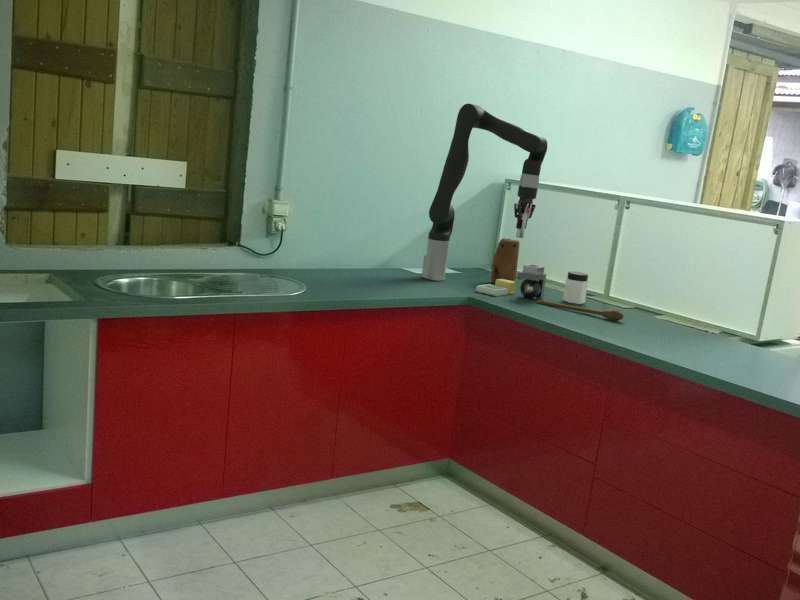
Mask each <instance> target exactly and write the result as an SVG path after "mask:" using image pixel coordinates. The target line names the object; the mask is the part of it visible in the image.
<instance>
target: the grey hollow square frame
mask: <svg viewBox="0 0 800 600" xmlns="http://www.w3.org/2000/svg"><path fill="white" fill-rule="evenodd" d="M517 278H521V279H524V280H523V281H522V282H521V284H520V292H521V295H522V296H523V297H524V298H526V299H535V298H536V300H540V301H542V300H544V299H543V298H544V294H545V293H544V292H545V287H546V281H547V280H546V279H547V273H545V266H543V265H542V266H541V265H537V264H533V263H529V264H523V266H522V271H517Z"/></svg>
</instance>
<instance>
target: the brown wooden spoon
mask: <svg viewBox="0 0 800 600" xmlns="http://www.w3.org/2000/svg"><path fill="white" fill-rule="evenodd" d="M536 300H537V301H536V304H539V305H544V306H548V307H553V308H559V309H563V310H570V311H576V312H581V313H587V314H593V315H599V316H602V317H604V318H606V319H607V320H610V321H611V322H619V321H621V320H623V319H624V314H623V313H622V312H621V311H619V310H618V309H616V308H615V309H614V308H613V309H608V310H607V309H606V310H597V309H593V308H592V309H591V308H586V307H580V306H574V305H568V304H562V303H556V302H553V301H552V302H551V301H546V300H540V299H536Z"/></svg>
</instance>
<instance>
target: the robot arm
mask: <svg viewBox="0 0 800 600" xmlns="http://www.w3.org/2000/svg"><path fill="white" fill-rule="evenodd" d="M473 129H480V130H484V131H487V132H489V133H492V134H493V135H495V136H497V137H498V138H500V139H502V140H503V141H505V142H508V143H510V144H512V145H515V146H517V147H519V148H520V149H522V150H523V151H526V152H528V153H529V155H528V157H527V158H525V160H524V162H523V165H522V169H521V175H520V177H519V184H518V188H517V197H518V198H519V200H518V202H516V203H514V204H513V208H514V211H513V212H514V217H515V218H516V219H517V220H516V224H515V225H516V226H515V228H516V230H517V229H521V228H522V224H523V218H524V215H525V214H526V209H527V208H530V211H528V215H527V220H526V226H525V230H526V229H527V225H528V220H530V219H531V218H532V217H533V214H534V211H535V209H536V204H534V203H533V200H536V199H537V193H538V188H539V184H540V174H541V167H542V164H543V162H544V159H545V157H546V155H547V152H548V141H547V138H545V137H544V136H543V135H538V134H537V135H536V134H534V133H531V132H528V131H526V130H525V129H524V128H522V127H520V126H518V125H515V124H513V123H510V122H509V121H505V120H503V119H500V118H498V117H496V116H494V115H492V114H491V113H489V112H488V111H487V110H485V109H484V108H482V106H479V105H477V104H473V103H465V104H463V105H461V107H460V109H459V110H458V113H457V117H456V121H455V127H454V132H453V137H452V139H451V142H450V147H449V149H448V153H447V156H446V159H445V161H444V165H443V168H442V173H441V175H440V180H439V183H438V187H437V190H436V192H435V195H434V198H433V200H432V202H431V205H430V207H429V210H428V216H429V220H430V221H431V222H432V227H431V229H430V230H429V232H428V236H427V237H428V238H427V245H426V253H425V255H423V262H422V269H421V271H422V272H421V278H424V279H427V280H430V281H440V282H441V281H442V282H443V281H445V280H446V279H445V278H446V271H447V265H448V257H449V256H448V255H449V246H450V239H451V236H452V233H453V230H454V229H453V228H454V223H455V209H454V206H453V205H452V200H453V197H454V194H455V192H456V190H457V189H458V187H459V185H460V184H461V182H462V180H463V178H464V176H465V173H466V170H467V169H468V168H467V167H468V165H469V159H470V155H469V154H470V152H469V149H470V148H469V143H470V141H469V140H470V137H471V134H472V130H473ZM523 210H524V211H523ZM521 211H523V212H521ZM521 214H522V216H521Z"/></svg>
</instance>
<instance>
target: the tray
mask: <svg viewBox="0 0 800 600" xmlns="http://www.w3.org/2000/svg"><path fill="white" fill-rule="evenodd" d="M475 292H477V293H481V294H485V295H488V296H492V297H501V296H507V295H509V294H508V293H509V288H504V287H500V286H496V285H495V284H493V283H492V284H491V283H487V284H479V285H476V290H475Z"/></svg>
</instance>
